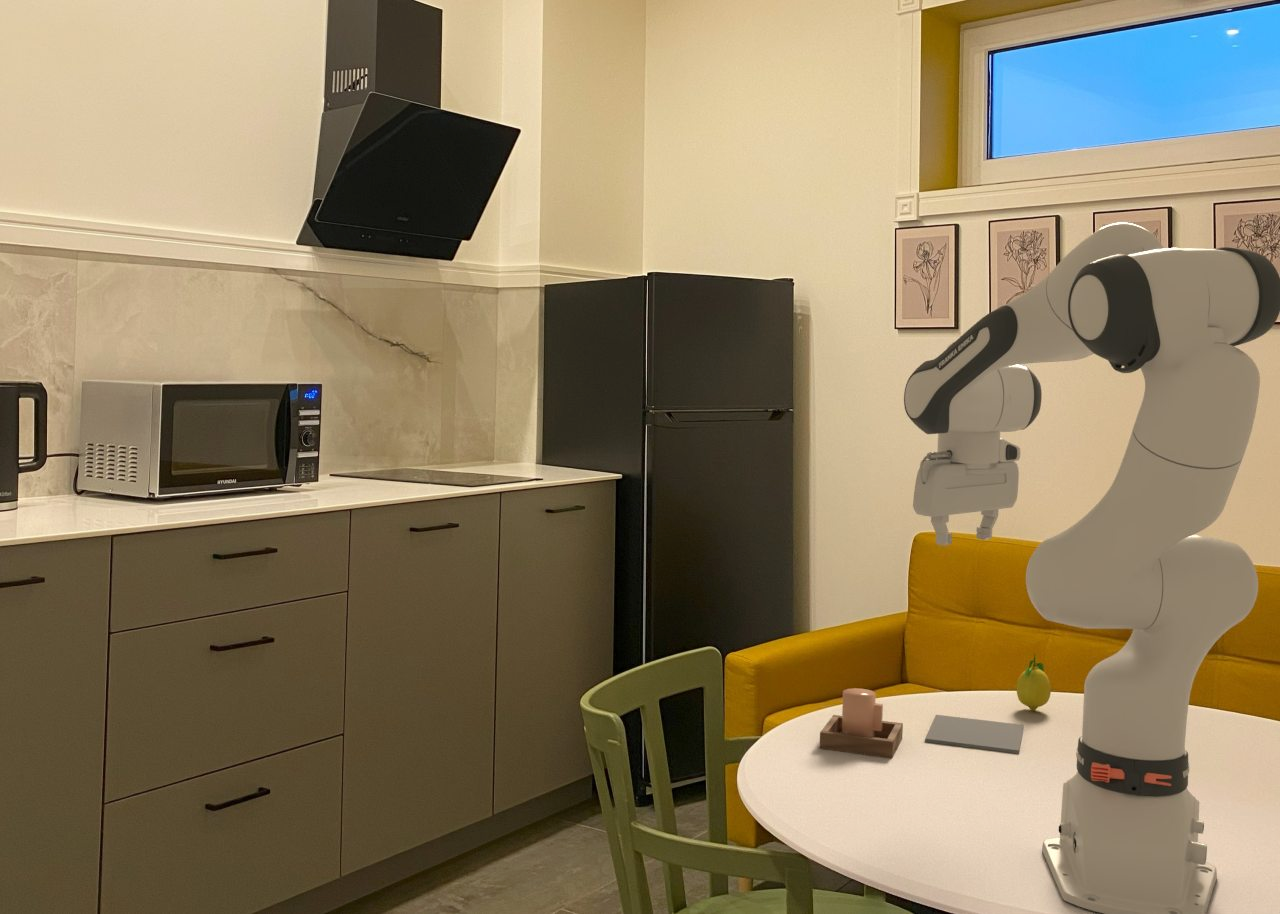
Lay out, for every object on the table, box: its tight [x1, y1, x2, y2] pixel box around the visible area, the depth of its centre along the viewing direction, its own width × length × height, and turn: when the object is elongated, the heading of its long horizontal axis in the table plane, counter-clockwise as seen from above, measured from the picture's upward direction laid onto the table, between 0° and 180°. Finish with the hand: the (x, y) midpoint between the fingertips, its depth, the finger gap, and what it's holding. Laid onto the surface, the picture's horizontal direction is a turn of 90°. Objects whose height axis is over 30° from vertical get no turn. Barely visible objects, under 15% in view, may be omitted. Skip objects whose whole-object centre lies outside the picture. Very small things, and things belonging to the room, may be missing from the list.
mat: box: [924, 714, 1025, 754], centre depth 182 cm, size 14×14×1 cm
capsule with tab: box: [841, 687, 884, 737], centre depth 177 cm, size 5×6×8 cm
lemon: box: [1016, 653, 1052, 712], centre depth 196 cm, size 7×6×10 cm
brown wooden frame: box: [819, 714, 904, 759], centre depth 177 cm, size 10×11×2 cm
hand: (964, 541), depth 170 cm, fingers open, 8 cm apart
